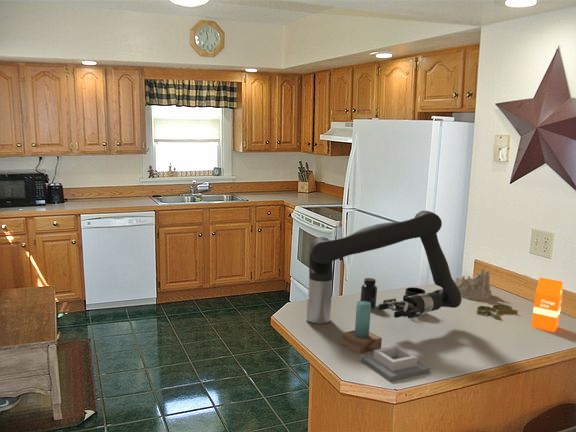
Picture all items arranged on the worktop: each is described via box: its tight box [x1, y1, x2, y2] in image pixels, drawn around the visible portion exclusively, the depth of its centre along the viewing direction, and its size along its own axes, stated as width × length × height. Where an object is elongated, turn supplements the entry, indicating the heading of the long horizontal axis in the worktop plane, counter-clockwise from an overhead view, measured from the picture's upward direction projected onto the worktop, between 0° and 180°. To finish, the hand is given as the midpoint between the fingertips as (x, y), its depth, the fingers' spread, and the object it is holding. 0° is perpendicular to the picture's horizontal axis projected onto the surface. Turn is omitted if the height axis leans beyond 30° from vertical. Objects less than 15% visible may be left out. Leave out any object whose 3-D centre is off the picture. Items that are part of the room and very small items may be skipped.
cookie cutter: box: [476, 303, 519, 320], centre depth 239 cm, size 18×12×2 cm, turn 123°
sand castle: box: [454, 268, 493, 301], centre depth 261 cm, size 16×16×15 cm
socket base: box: [359, 345, 431, 382], centre depth 181 cm, size 16×16×4 cm
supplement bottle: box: [359, 277, 378, 309], centre depth 239 cm, size 7×7×12 cm
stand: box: [340, 329, 383, 355], centre depth 197 cm, size 10×10×4 cm
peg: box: [354, 300, 372, 338], centre depth 195 cm, size 5×5×12 cm
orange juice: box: [530, 277, 564, 333], centre depth 222 cm, size 8×9×20 cm
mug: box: [402, 287, 426, 301], centre depth 233 cm, size 8×12×10 cm
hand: (386, 311), depth 201 cm, fingers open, 8 cm apart
